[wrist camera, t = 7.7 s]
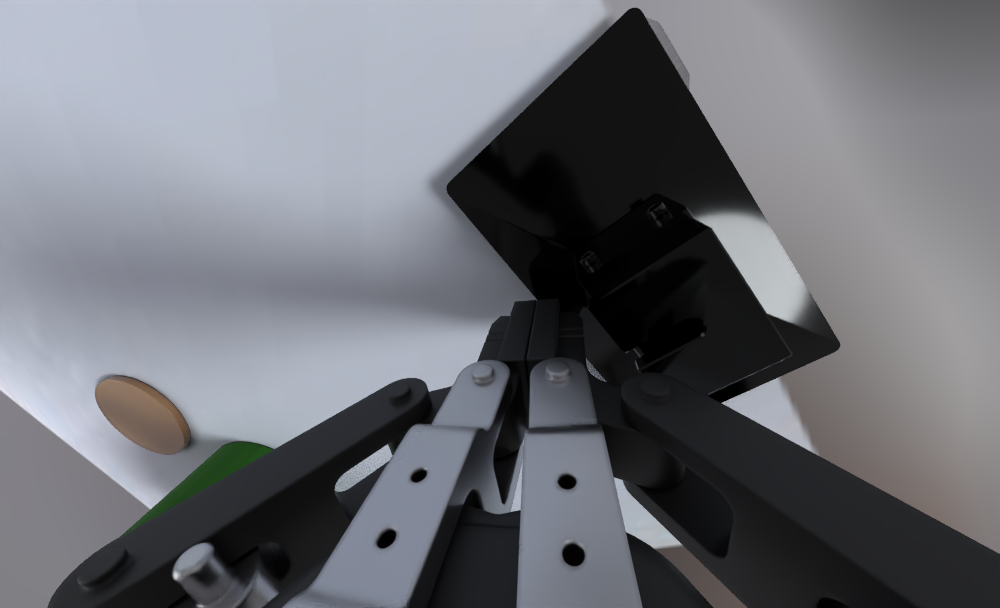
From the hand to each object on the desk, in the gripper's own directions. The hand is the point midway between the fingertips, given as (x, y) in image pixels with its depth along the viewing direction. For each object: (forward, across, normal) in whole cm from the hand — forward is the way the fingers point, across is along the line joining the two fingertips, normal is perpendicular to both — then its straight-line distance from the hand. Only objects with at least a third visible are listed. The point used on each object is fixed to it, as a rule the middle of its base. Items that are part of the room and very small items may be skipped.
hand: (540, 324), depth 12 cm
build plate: (+1, -4, -1) cm, 4 cm away
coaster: (+2, +25, +6) cm, 26 cm away
